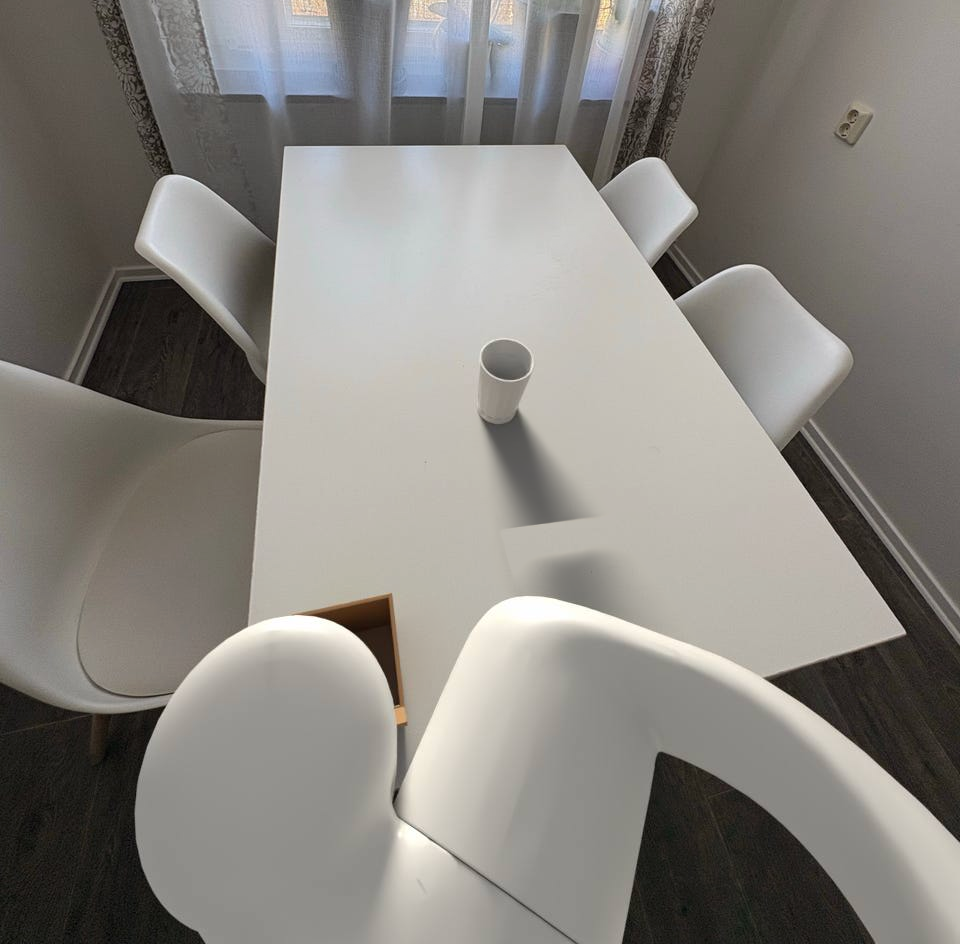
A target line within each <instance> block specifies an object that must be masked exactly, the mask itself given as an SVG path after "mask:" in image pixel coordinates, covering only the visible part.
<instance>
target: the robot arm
mask: <svg viewBox="0 0 960 944" xmlns="http://www.w3.org/2000/svg"><path fill="white" fill-rule="evenodd" d="M659 753H665V754H667V755H669V756H672V757H675V758H677V759H680V760H682V761H684V762H687V763H688V764H691V765H693V766H695V767H697V768H699V769H701V770H703V771H705V772H707V773H709V774H711V775H713V776H715V777H716V778H718V779H719V780H721V781H723V782H725V783H726V784H727V785H729V786H730V787H733V788H734V789H735V790H737V791H739V792H740V793H742V794H743V795H745V796H747V797H748V798H750V799H751V800H752V801H754V802H755V803H756V804H758V805H759V806H760V807H762V808H763V809H764V810H765V811H766V812H768V813H769V814H770V815H771V816H772V817H774V819H776V820H777V821H778V822H779V823H780V824H782V825H783V827H784V828H785V829H787V831H788V832H790V833H791V834H792V836H794V837H795V838H796V839H797V841H799V842H800V843H801V845H802V846H803V847H804V849H806V850H807V851H808V852H809V853H810V855H812V857H813V858H814V859H815V860H816V861H817V862H818V864H819V865H820V866H821V868H822V869H823V870H824V871H825V872H826V874H827V876H829V877H830V879H831V880H832V881H833V883H834V884H835V885H836V886H837V888H838V889H839V891H840V892H841V893H842V895H843V897H845V899H846V900H847V902H848V903H849V904H850V906H851V908H853V911H854V912H855V913H856V915H857V917H858V918H859V920H860V921H861V923H862V924H863V925H864V927H865V929H866V931H867V932H868V934H869V935H870V937H871V938H872V941H873V942H874V944H960V841H959V840H958V839H956V837H955V836H954V835H953V834H952V833H951V832H950V831H949V830H948V829H947V828H946V827H945V825H943V824H942V822H940V821H939V820H938V818H936V816H934V815H933V814H932V812H931V811H930V810H929V809H928V808H927V807H926V806H925V805H923V803H922V802H920V800H918V799H917V797H915V796H914V795H913V794H912V793H911V792H910V791H909V790H908V789H906V788H905V787H904V786H903V785H902V784H901V783H899V781H898V780H896V779H895V778H894V777H893V776H892V775H891V774H889V773H888V771H886V770H885V769H884V768H883V767H882V766H881V765H879V764H878V762H876V761H875V760H874V758H873V757H871V756H870V755H869V754H868V753H866V751H864V750H863V749H862V748H860V747H859V746H858V745H857V744H856V743H854V742H853V741H851V739H849V738H848V737H847V736H845V735H844V734H843V733H841V731H840V730H838V729H837V728H835V727H834V726H833V725H831V723H829V722H828V721H827V720H825V719H824V718H823V717H822V716H820V715H819V714H817V713H816V712H814V711H813V709H811V708H809V707H807V706H806V705H805V704H804V703H802V702H800V701H799V700H797V699H796V698H795V697H793V696H791V695H790V694H788V693H787V692H785V691H784V690H782V689H780V688H778V686H776V685H774V684H773V683H771V682H769V681H768V680H767V679H765V678H763V677H762V676H760V675H758V674H757V673H755V672H753V671H751V670H749V669H747V668H745V667H744V666H742V665H739V664H737V663H735V662H733V661H732V660H729V659H728V658H725V657H724V656H721V655H718V654H716V653H714V652H711V651H708V650H707V649H703V648H701V647H698V646H695V645H693V644H690V643H687V642H684V641H680V640H678V639H676V638H673V637H670V636H667V635H665V634H662V633H659V632H656V631H655V630H651V629H648V628H646V627H643V626H641V625H637V624H635V623H632V622H629V621H627V620H625V619H622V618H619V617H616V616H613V615H610V614H607V613H604V612H602V611H599V610H596V609H593V608H589V607H587V606H584V605H580V604H575V603H573V602H569V601H564V600H560V599H557V598H552V597H546V596H541V595H540V596H539V595H537V596H536V595H535V596H533V595H531V596H530V595H522V596H516V597H511V598H508V599H504V600H502V601H500V602H499V603H497V604H495V605H493V606H492V607H491V608H490V609H489V610H488V611H487V612H485V613H484V614H483V616H482V617H481V618H480V620H478V622H477V623H476V624H475V626H474V627H473V629H472V630H471V631H470V633H469V635H468V637H467V639H466V641H465V643H464V645H463V647H462V649H461V651H460V652H459V655H458V658H457V660H456V661H455V664H454V666H453V668H452V671H451V673H450V675H449V677H448V679H447V681H446V684H445V686H444V688H443V690H442V691H441V694H440V697H439V699H438V702H437V704H436V706H435V708H434V711H433V713H432V715H431V717H430V720H429V722H428V724H427V726H426V728H425V731H424V733H423V736H422V738H421V740H420V742H419V745H418V747H417V749H416V752H415V754H414V756H413V759H412V761H411V763H410V765H409V767H408V770H407V772H406V774H405V776H404V778H403V780H402V783H401V786H400V788H399V789H398V792H397V795H396V797H395V799H394V796H395V791H396V784H397V774H398V773H397V772H398V771H397V767H398V728H397V723H396V717H395V711H394V704H393V698H392V695H391V692H390V689H389V686H388V683H387V679H386V677H385V675H384V673H383V671H382V669H381V667H380V665H379V663H378V662H377V660H376V658H375V657H374V655H373V654H372V652H371V651H370V650H369V649H368V647H367V646H366V645H365V644H364V643H363V642H362V641H361V640H360V639H359V638H358V637H357V636H356V635H354V634H353V633H352V632H350V631H349V630H347V629H346V628H344V627H343V626H341V625H339V624H336V623H334V622H332V621H329V620H326V619H323V618H318V617H313V616H302V615H294V616H292V615H286V616H278V617H273V618H269V619H264V620H262V621H260V622H257V623H254V624H252V625H250V626H247V627H245V628H243V629H241V630H240V631H238V632H237V633H235V634H233V635H231V636H230V637H228V638H226V639H225V640H224V641H222V642H221V643H219V644H218V645H217V646H216V647H214V649H212V650H211V651H209V652H208V653H207V654H206V655H205V656H204V657H203V658H202V659H201V660H200V661H199V663H197V665H195V666H194V667H193V669H192V670H190V672H189V673H188V674H187V676H186V677H185V678H184V680H183V681H182V682H181V683H180V684H179V686H178V687H177V689H175V691H174V692H173V694H172V696H171V697H170V699H169V701H168V703H167V704H166V706H165V708H164V709H163V711H162V713H161V715H160V717H159V718H158V720H157V723H156V725H155V727H154V730H153V732H152V734H151V737H150V739H149V742H148V744H147V746H146V749H145V753H144V757H143V760H142V763H141V767H140V771H139V775H138V779H137V784H136V796H135V804H134V805H135V806H134V828H135V842H136V846H137V850H138V856H139V860H140V864H141V868H142V871H143V873H144V876H145V878H146V880H147V882H148V884H149V886H150V888H151V890H152V892H153V894H154V895H155V897H156V898H157V900H158V901H159V903H160V904H161V905H162V906H163V907H164V909H165V910H166V911H167V912H168V913H169V914H170V915H171V916H172V917H174V919H176V920H177V921H179V922H180V923H181V924H183V925H184V926H186V927H188V928H189V929H190V930H193V931H195V932H198V934H199V935H200V937H201V939H202V940H203V942H204V943H205V944H622V943H623V938H624V934H625V928H626V924H627V919H628V914H629V913H628V912H629V908H630V902H631V896H632V892H633V886H634V882H635V875H636V870H637V864H638V861H639V860H638V859H639V854H640V848H641V844H642V837H643V832H644V827H645V823H646V817H647V811H648V806H649V801H650V796H651V789H652V785H653V779H654V772H655V767H656V765H655V764H656V759H657V756H658V754H659Z"/></svg>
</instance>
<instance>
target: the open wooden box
mask: <svg viewBox="0 0 960 944" xmlns="http://www.w3.org/2000/svg"><path fill="white" fill-rule="evenodd" d="M393 597H394V596H393V593H392V592H388V593H384V594H380V595H376V596H375V595H374V596H371V597H366V598H362V599H356V600H352V601H348V602H343V603H339V604H334V605H329V606H324V607H320V608H316V609H312V610H307V611H302V612H298V613H293V614H291V616H294V615H302V616H313V617H318V618H323V619H326V620H329V621H332V622H334V623H336V624H339V625H341V626H343V627H344V628H346V629H347V630H349V631H350V632H352V633H353V634H354V635H356V636H357V637H358V638H359V639H360V640H361V641H362V642H363V643H364V644H366V645H367V646H369V647H370V648H371V650H372V651H373V652H374V654H375V656H376V658H377V661H378V663H379V665H380V667H381V669H382V671H383V673H384V675H385V677H386V679H387V683H388V686H389V689H390V692H391V695H392V698H393V704H394V709H396V708H400V707H405V708H406V705H405V696H404V687H403V678H402V668H401V660H400V651H399V643H398V633H397V624H396V616H395V607H394V598H393Z"/></svg>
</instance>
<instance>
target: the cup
mask: <svg viewBox="0 0 960 944" xmlns="http://www.w3.org/2000/svg"><path fill="white" fill-rule="evenodd" d="M535 366H536V361H535V356H534V354H533V352H532V350H531V349H530V348H529V347H527V345H526V344H524V343H523V342H521V341H518V340H516V339H512V338H504V337H503V338H497V339H493V340H490V341H489V342H487V343H486V344H485V345H484V346H483V347H482V348H481V350H480V352H479V360H478V387H477V388H478V389H477V402H476V409H477V413H478V415H479V416H480V417H481V418H482V419H483V420H484V421H486V422H488V423H490V424H493V425H503V424H506V423H509V422H510V421H512V420H513V419H514V417H516V413H517V410H518V407H519V405H520V402H521V399H522V398H523V396H524V393H525V390H526V388H527V386H528V384H529V381H530V379H531V376H532V374H533V371H534V370H535Z"/></svg>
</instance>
